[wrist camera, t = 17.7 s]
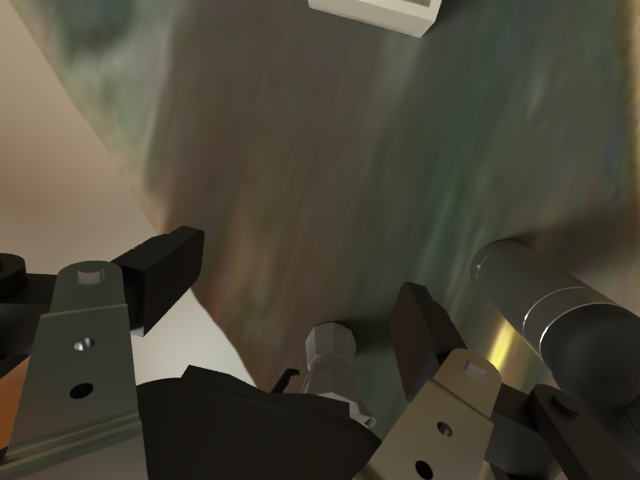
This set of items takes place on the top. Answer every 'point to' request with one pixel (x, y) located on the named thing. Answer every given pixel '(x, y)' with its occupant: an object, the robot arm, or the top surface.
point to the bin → (385, 13)
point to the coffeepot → (331, 369)
